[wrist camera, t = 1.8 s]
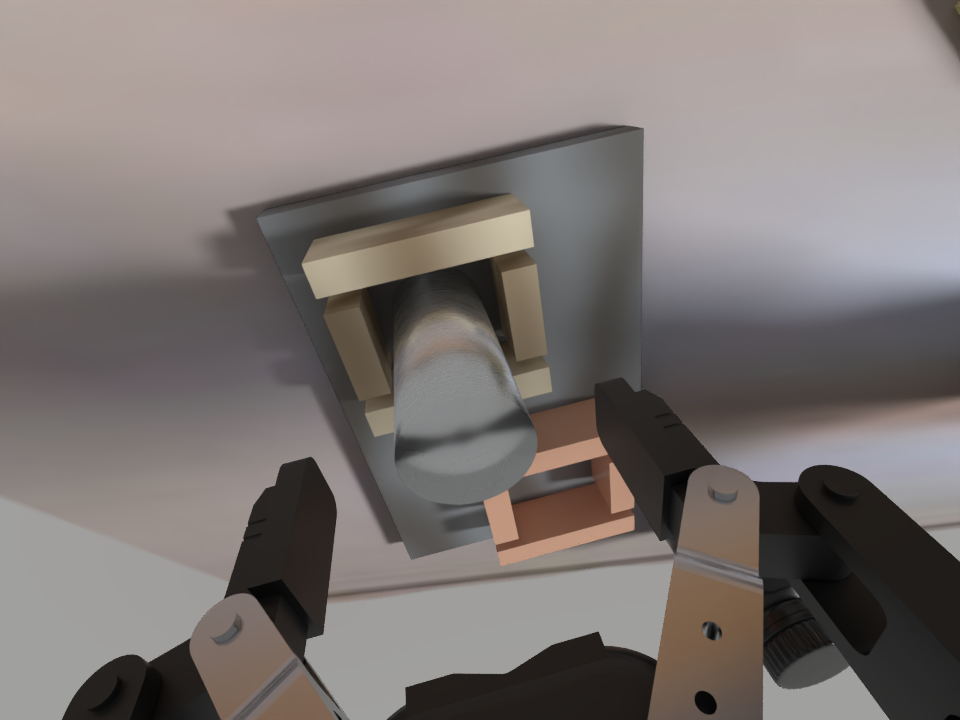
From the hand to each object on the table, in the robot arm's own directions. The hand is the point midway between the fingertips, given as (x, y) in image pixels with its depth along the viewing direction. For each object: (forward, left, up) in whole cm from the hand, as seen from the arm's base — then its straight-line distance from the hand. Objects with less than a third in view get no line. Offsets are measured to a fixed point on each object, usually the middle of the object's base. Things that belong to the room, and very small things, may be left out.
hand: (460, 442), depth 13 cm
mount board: (-2, +6, -11) cm, 13 cm away
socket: (-4, +12, -10) cm, 16 cm away
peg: (0, 0, -10) cm, 10 cm away
